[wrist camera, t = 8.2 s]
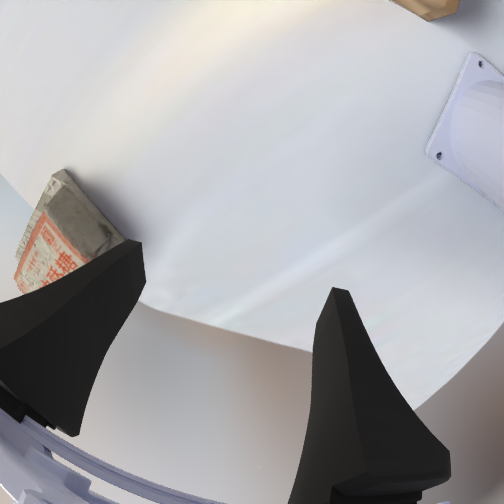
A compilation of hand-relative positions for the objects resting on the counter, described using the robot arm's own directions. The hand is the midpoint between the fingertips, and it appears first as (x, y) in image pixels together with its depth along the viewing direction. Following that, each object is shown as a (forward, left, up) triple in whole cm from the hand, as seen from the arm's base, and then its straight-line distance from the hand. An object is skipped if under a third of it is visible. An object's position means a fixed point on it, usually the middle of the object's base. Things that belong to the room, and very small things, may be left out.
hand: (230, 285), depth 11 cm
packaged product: (+18, +14, -11) cm, 25 cm away
